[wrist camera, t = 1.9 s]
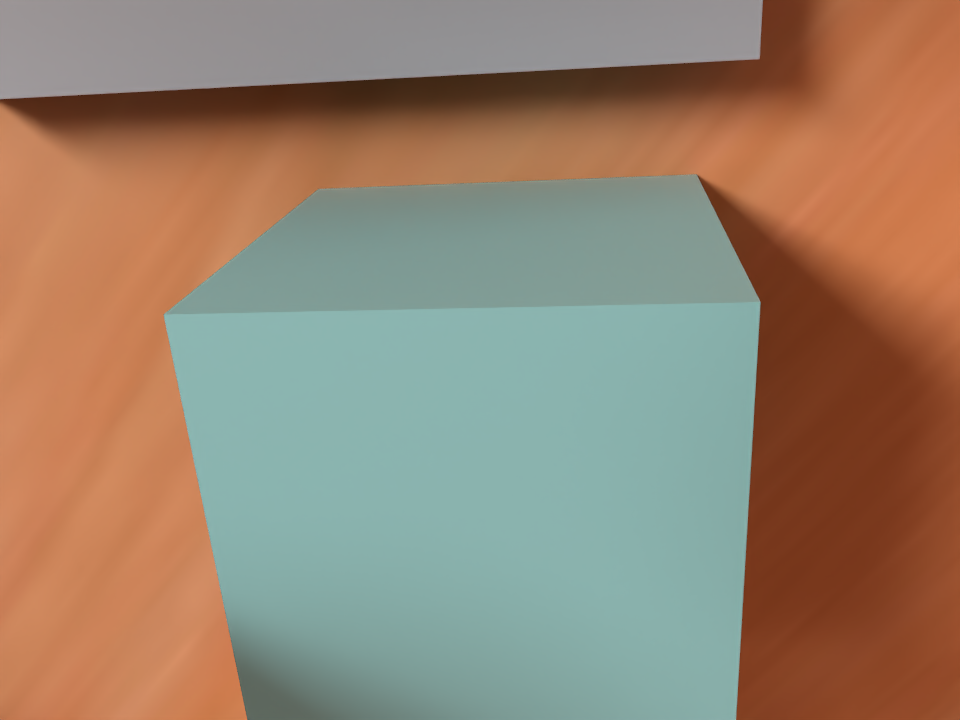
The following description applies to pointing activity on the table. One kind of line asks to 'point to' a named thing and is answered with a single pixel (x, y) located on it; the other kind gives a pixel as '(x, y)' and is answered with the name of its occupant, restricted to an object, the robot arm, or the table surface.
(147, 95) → the table surface
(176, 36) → the plate
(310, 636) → the teal cube
